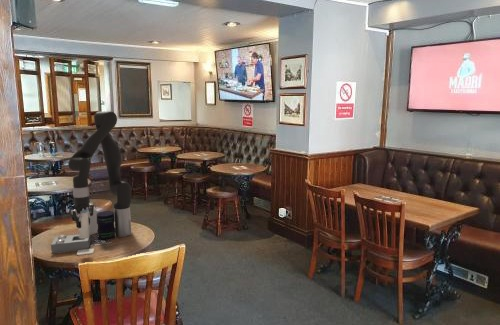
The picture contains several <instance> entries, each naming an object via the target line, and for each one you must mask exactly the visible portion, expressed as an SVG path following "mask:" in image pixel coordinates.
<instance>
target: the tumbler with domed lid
mask: <svg viewBox="0 0 500 325" xmlns="http://www.w3.org/2000/svg"><path fill="white" fill-rule="evenodd" d="M81 212H82V217H81V228H77V230H78V233H77V234H78V235H79V238H80V239H84V238H88V237H89V221H88V209H87V210H84V211H80V213H81ZM77 215H80V214H78V213H77ZM78 219H79V217H78Z"/></svg>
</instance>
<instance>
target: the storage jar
mask: <svg viewBox="0 0 500 325" xmlns="http://www.w3.org/2000/svg"><path fill="white" fill-rule="evenodd" d="M96 215H97V226H98V230H97V232H98V233H97V239H98V240H99V241H103V242H104V241H111V240H113V239H115V238H116V235H115V219H114V211H112V210H111V211H109V210H107V211H105V210H104V211H100V212H97V214H96Z"/></svg>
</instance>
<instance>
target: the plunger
mask: <svg viewBox="0 0 500 325" xmlns="http://www.w3.org/2000/svg"><path fill="white" fill-rule="evenodd" d="M65 236H66V234H60V235H58V237H59V239H65Z"/></svg>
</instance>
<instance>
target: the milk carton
mask: <svg viewBox="0 0 500 325" xmlns="http://www.w3.org/2000/svg"><path fill="white" fill-rule="evenodd" d="M90 204H91V205H94V202H93V201H92V202H90V203H89V205H90ZM90 213H91V212H90ZM97 213H98V212H97V208H96V207H95V205H94V210H93V216H91V217H90V225H89V233H90V236H91V235H95V234H98V232H97V230H98V224H97V215H96V214H97Z"/></svg>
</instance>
